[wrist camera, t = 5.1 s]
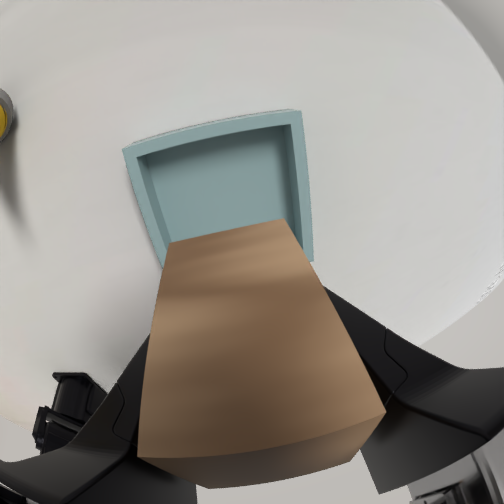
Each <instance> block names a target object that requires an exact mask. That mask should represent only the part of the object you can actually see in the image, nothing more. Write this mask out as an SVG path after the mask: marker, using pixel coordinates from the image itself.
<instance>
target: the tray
mask: <svg viewBox="0 0 504 504" xmlns="http://www.w3.org/2000/svg"><path fill="white" fill-rule="evenodd" d="M122 152H123V155H124V159H125V162H126V166H127V169H128V172H129V176H130V179H131V182H132V185H133V188H134V192H135V195H136V198H137V201H138V204H139V207H140V210H141V213H142V215H143V218H144V221H145V224H146V227H147V229H148V232H149V235H150V238H151V240H152V243H153V246H154V248H155V251H156V253H157V256H158V258H159V261H160V264H161V266H162V268H163V267H164V263H165V258H166V254H167V250H168V246H169V243H171V242H176V241H180V240H184V239H189V238H193V237H198V236H202V235H207V234H211V233H216V232H220V231H225V230H230V229H234V228H239V227H244V226H248V225H253V224H258V223H263V222H268V221H273V220H278V219H283V218H284V219H285V221H286V222H287V224H288V226H289V228H290V229H291V231H292V233H293V234H294V236H295V238H296V239H297V241H298V243H299V245H300V246H301V248H302V250H303V252H304V253H305V255H306V257H307V259H308V260H309V262H312V261H314V255H313V233H312V216H311V201H310V188H309V176H308V165H307V155H306V146H305V137H304V128H303V120H302V112H301V111H300V110H292V109H286V110H278V111H270V112H263V113H256V114H249V115H243V116H238V117H232V118H227V119H222V120H217V121H212V122H207V123H203V124H198V125H194V126H190V127H186V128H182V129H178V130H174V131H171V132H167V133H163V134H160V135H157V136H153V137H150V138H147V139H143V140H140V141H137V142H134V143H132V144H130V145H129V146H127V147H125V148H123V149H122Z"/></svg>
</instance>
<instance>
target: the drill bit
mask: <svg viewBox="0 0 504 504" xmlns="http://www.w3.org/2000/svg"><path fill="white" fill-rule="evenodd" d="M12 117H13V104H12V101H11V99H10V97H9V95H8V94H7V93H6V92H5V91H3V90H2V89H0V142H1V141H2V140H3V139H4V138H5V136H6V135H7V133H8V131H9V129H10V126H11V121H12Z"/></svg>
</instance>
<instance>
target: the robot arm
mask: <svg viewBox="0 0 504 504" xmlns="http://www.w3.org/2000/svg"><path fill="white" fill-rule="evenodd" d="M322 286H323V285H322ZM323 287H324V286H323ZM324 289H325V291H326V293H327V295H328V297H329V298H330V300H331V302H332V304H333V306H334V308H335V310H336V311H337V313H338V315H339V317H340V319H341V321H342V323H343V325H344V327H345V329H346V330H347V332H348V334H349V336H350V338H351V340H352V342H353V344H354V346H355V348H356V350H357V352H358V354H359V356H360V358H361V360H362V362H363V364H364V366H365V368H366V370H367V372H368V374H369V376H370V378H371V381H372V383H373V385H374V387H375V389H376V391H377V393H378V395H379V397H380V400H381V402H382V404H383V406H384V408H385V410H386V413H385V415H384V416H383V418H382V419H381V421H380V422H379V424H378V425H377V427H376V428H375V429H374V431H373V432H372V434H371V435H370V436H369V438H368V439H367V440H366V442H365V443H364V444H363V446H362V447H361V448H360V450H361V453H362V455H363V457H364V460H365V462H366V464H367V467H368V469H369V472H370V474H371V476H372V479H373V481H374V484H375V486H376V489H377V491H378V493H379V494H382V493H385V492H388V491H391V490H394V489H397V488H399V487H402V486H405V485H407V486H408V488H409V491H410V494H411V497H412V499H413V500H412V501H410V504H504V367H502V368H489V369H464V368H460V367H457V366H454V365H452V364H450V363H448V362H446V361H444V360H442V359H440V358H438V357H436V356H434V355H432V354H430V353H428V352H426V351H425V350H423V349H421V348H419V347H417V346H415V345H414V344H412V343H410V342H408V341H407V340H405V339H403V338H402V337H400V336H399V335H397V334H396V333H394V332H393V331H391V330H390V329H388V328H387V329H386V327H385V326H383V325H382V324H380V323H379V322H377V321H376V320H374V319H373V318H371V317H370V316H368V315H367V314H365V313H364V312H362V311H361V310H359V309H358V308H356V307H355V306H353V305H352V304H350V303H349V302H347V301H346V300H344V299H343V298H341V297H339V296H338V295H336V294H335V293H333V292H332V291H330V290H329V289H327V288H326V287H324ZM149 339H150V334H149V335H148V337H147V338H146V340H145V341H144V343H143V344H142V345H141V347H140V348H139V350H138V351H137V353H136V354H135V355H134V357H133V358H132V360H131V361H130V363H129V364H128V366H127V367H126V369H125V370H124V372H123V373H122V374H121V376H120V377H119V379H118V380H117V383H115V385H114V386H113V388H112V389H111V391H110V392H109V394H108V395H107V394H106V393H105V392H104V391H103V390H102V389H101V388H100V387H98V386H97V385H96V384H95V383H94V382H93V380H92V379H91V378H90V377H89V376H88V375H87V374H85V373H53V375H52V376H53V378H54V379H55V380H57V381H58V382H59V383H58V387H57V390H56V394H55V397H54V401H53V405H52V408H51V409H50V408H49V407H48V406H46V405H45V408H44V407H40V406H39V409H38V413H37V417H36V421H35V424H34V429H33V433H32V435H33V437H34V439H35V443H36V448H37V449H38V450H40V455H39V456H35V457H32V458H28V459H25V460H21V461H17V462H4V461H2V460H0V482H1V483H2V484H4V485H6V486H7V487H9V488H10V489H9V488H7V487H5V486H3V485H1V484H0V504H197V493H196V484H194V483H192V482H189V481H187V480H185V479H182V478H180V477H178V476H175V475H173V474H171V473H169V472H166V471H164V470H162V469H160V468H158V467H156V466H154V465H152V464H150V463H148V462H146V461H144V460H142V459H141V458H139V457H137V452H138V434H139V420H140V409H141V398H142V389H143V381H144V373H145V365H146V358H147V351H148V345H149ZM46 420H47V421H49V422H46ZM11 489H12V490H11ZM13 490H14V491H13ZM15 491H16V492H15Z"/></svg>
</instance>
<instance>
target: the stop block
mask: <svg viewBox="0 0 504 504" xmlns="http://www.w3.org/2000/svg"><path fill="white" fill-rule="evenodd" d="M385 413H386V410H385V408H384V406H383V404H382V402H381V400H380V397H379V395H378V393H377V391H376V389H375V387H374V385H373V383H372V381H371V378H370V376H369V374H368V372H367V370H366V368H365V366H364V364H363V362H362V360H361V358H360V356H359V354H358V352H357V350H356V348H355V346H354V344H353V342H352V340H351V338H350V336H349V334H348V332H347V330H346V329H345V327H344V325H343V323H342V321H341V319H340V317H339V315H338V313H337V311H336V310H335V308H334V306H333V304H332V302H331V300H330V298H329V297H328V295H327V293H326V291H325V289H324V287H323V286H322V284H321V282H320V280H319V278H318V276H317V275H316V273H315V271H314V269H313V268H312V266H311V264H310V262H309V260H308V259H307V257H306V255H305V253H304V252H303V250H302V248H301V246H300V245H299V243H298V241H297V239H296V238H295V236H294V234H293V233H292V231H291V229H290V228H289V226H288V224H287V222H286V221H285V219H284V218H283V219H278V220H273V221H268V222H263V223H258V224H253V225H248V226H244V227H239V228H234V229H230V230H225V231H220V232H216V233H211V234H207V235H202V236H198V237H193V238H189V239H184V240H180V241H176V242H171V243H169V246H168V250H167V254H166V258H165V263H164V267H163V271H162V276H161V280H160V285H159V290H158V295H157V300H156V305H155V310H154V316H153V321H152V327H151V333H150V339H149V345H148V351H147V358H146V365H145V373H144V381H143V389H142V398H141V409H140V420H139V434H138V452H137V457H139V458H141V459H142V460H144V461H146V462H148V463H150V464H152V465H154V466H156V467H158V468H160V469H162V470H164V471H166V472H169V473H171V474H173V475H175V476H178V477H180V478H182V479H185V480H187V481H189V482H192V483H194V484H197V485H200V486H202V487H205V488H208V489H214V488H228V487H239V486H247V485H255V484H261V483H268V482H274V481H279V480H285V479H289V478H294V477H298V476H302V475H307V474H310V473H314V472H317V471H321V470H325V469H328V468H331V467H335V466H338V465H341V464H344V463H347V462H350V461H351V459H352V458H353V457H354V455H355V454H356V453H357V452H358V451H359V449H360V448H361V447H362V446H363V444H364V443H365V442H366V440H367V439H368V438H369V436H370V435H371V434H372V432H373V431H374V429H375V428H376V427H377V425H378V424H379V422H380V421H381V419H382V418H383V416H384V415H385Z"/></svg>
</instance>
